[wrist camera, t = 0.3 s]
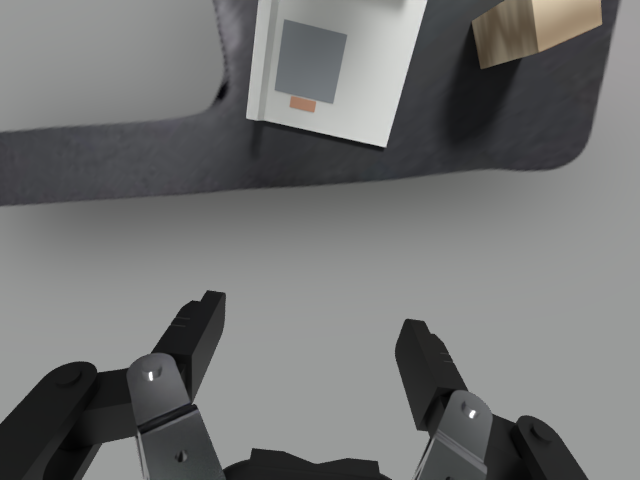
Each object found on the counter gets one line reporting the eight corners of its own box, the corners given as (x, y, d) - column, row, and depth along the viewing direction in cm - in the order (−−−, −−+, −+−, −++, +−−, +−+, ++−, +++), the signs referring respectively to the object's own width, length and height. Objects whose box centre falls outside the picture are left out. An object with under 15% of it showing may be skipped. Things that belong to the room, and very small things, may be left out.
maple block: (471, 21, 33) (529, -16, 24) (518, -1, 32) (597, -49, 23) (481, 70, 35) (538, 53, 25) (525, 50, 34) (602, 25, 25)
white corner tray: (277, -79, 30) (270, -112, 25) (436, -36, 31) (454, -61, 27) (254, 118, 37) (246, 118, 32) (384, 147, 38) (392, 150, 34)
